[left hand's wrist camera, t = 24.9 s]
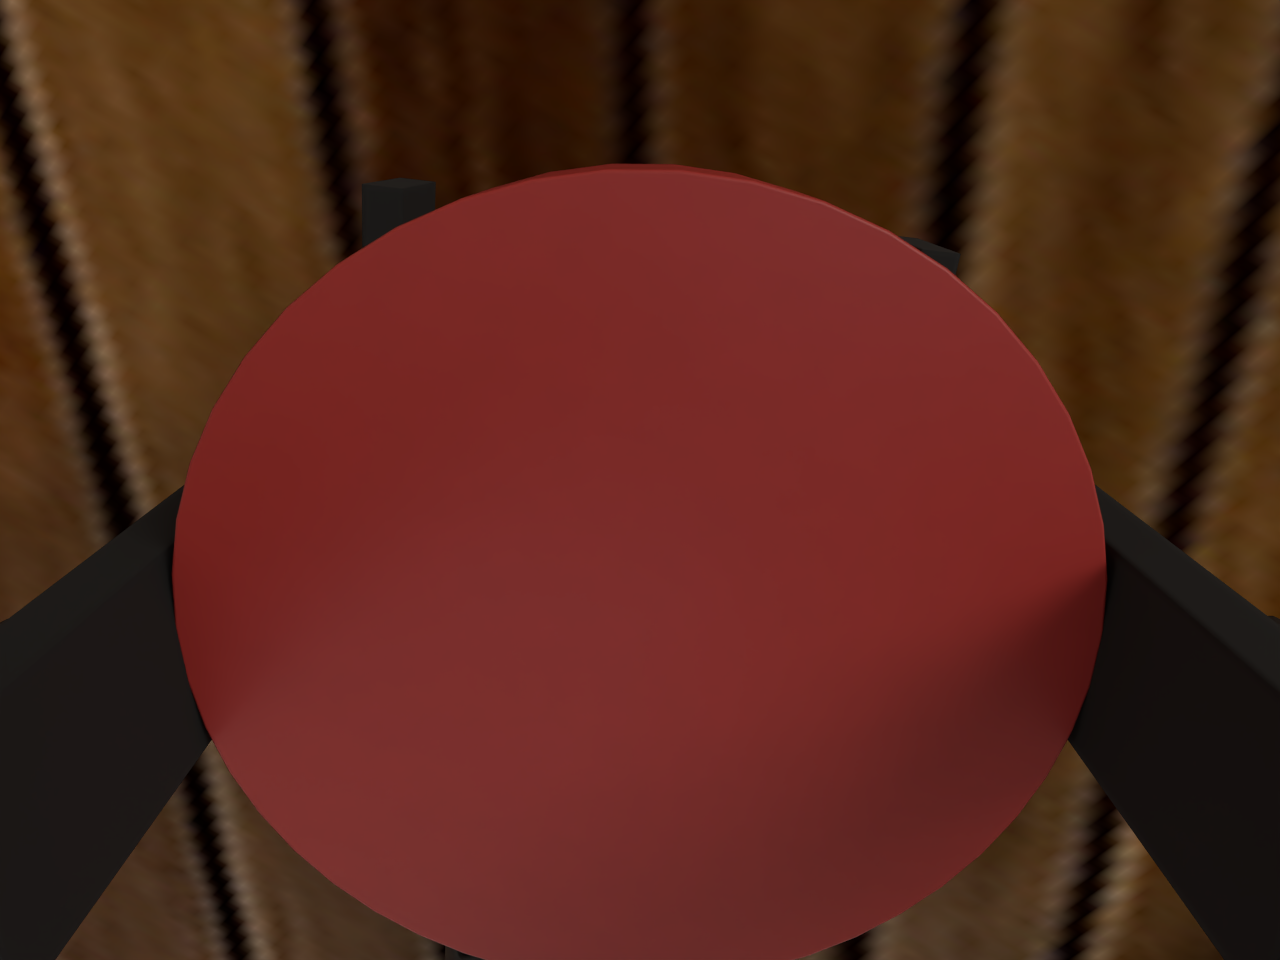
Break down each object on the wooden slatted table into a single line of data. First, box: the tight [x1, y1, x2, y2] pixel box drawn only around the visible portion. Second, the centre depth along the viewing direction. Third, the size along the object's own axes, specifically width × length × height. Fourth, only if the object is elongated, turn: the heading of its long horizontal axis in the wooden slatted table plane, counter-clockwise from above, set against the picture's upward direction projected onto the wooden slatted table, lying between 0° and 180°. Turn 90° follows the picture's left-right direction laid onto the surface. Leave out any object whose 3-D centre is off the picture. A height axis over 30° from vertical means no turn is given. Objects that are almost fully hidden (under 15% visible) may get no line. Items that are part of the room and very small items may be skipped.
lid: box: [172, 164, 1107, 960], centre depth 11 cm, size 11×11×2 cm
